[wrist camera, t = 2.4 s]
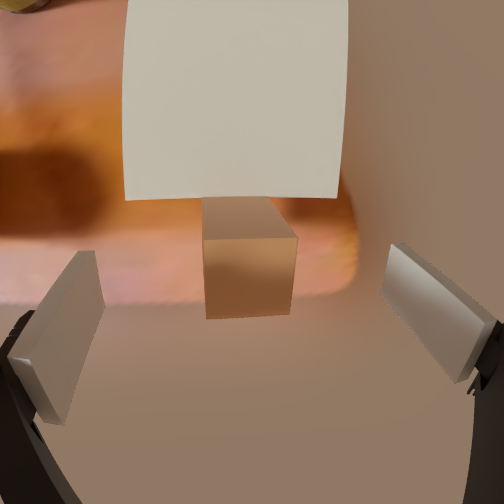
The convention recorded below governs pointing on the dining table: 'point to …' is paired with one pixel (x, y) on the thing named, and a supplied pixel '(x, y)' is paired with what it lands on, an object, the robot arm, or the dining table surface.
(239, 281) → the lid
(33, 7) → the sauce bottle
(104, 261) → the dining table surface
